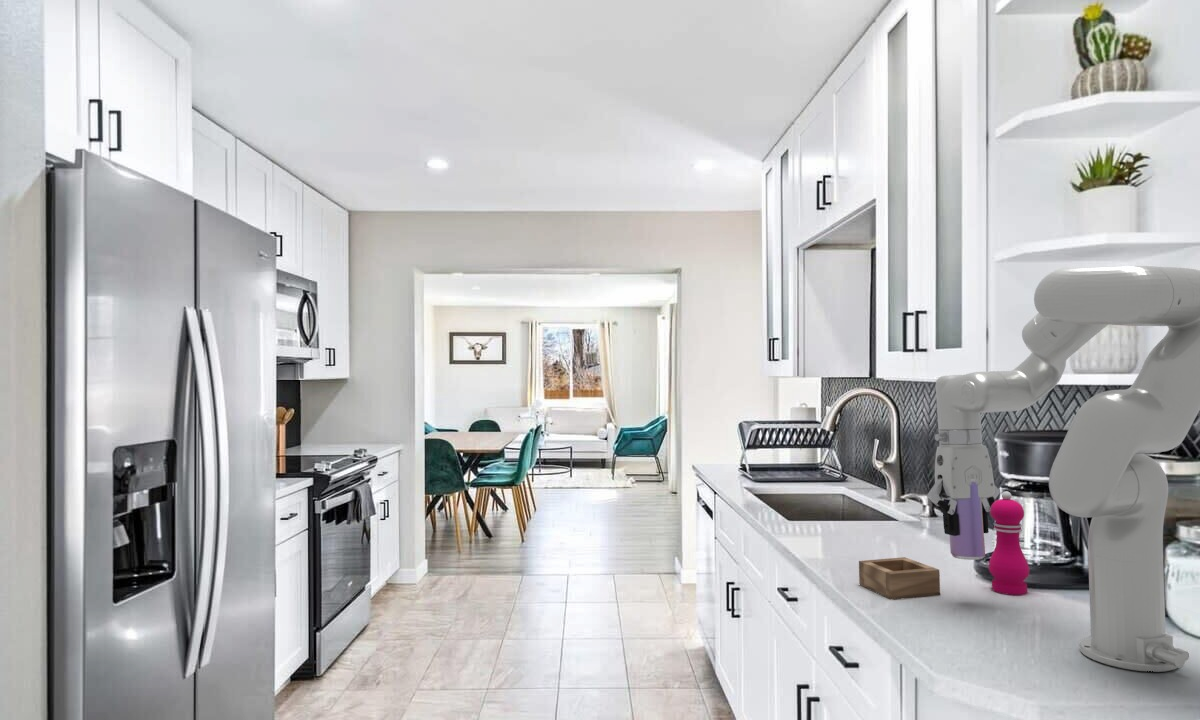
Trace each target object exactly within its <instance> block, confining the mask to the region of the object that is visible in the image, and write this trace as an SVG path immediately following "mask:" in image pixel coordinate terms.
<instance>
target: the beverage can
mask: <svg viewBox="0 0 1200 720" xmlns="http://www.w3.org/2000/svg"><path fill="white" fill-rule="evenodd" d="M972 480H974V479H972ZM972 480H971V481H972ZM970 484H971V485H969V486H970V498H968V499H965V500H957V504H956V508H955V512H954V514H957V517H958V532H959V534H958V536H953V535H949V546H950V547H949V548H950V549H949V550H950V551H949V552H950V555H952V557H953V558H955V559H960V560H964V561H965V560H966V561H967V560H969V561H971V560H972V561H973V560H982V559H984V558H985V555H986V545H985V533H984V529H983V514H982V499H981V498H980V497H979V496H978V484H976V482H971V483H970ZM948 497H950V496H948ZM948 502H950V501H948ZM948 506H949V503H948Z"/></svg>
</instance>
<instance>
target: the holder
mask: <svg viewBox="0 0 1200 720" xmlns="http://www.w3.org/2000/svg"><path fill="white" fill-rule="evenodd" d="M858 578H859V579H858V582H859V584H860V585H859V584H858V585H859V586H861V585H862V586H861V587H863V586H864V587H863V588H865V587H866V588H865V589H867V588H868V589H867V590H869V589H871V590H873V591H872V592H874V591H875V592H874V593H876V592H877V593H876V594H878V593H879V595H880V594H881V595H880V596H882V595H883V597H884V596H885V597H884V598H887V599H889V600H891V599H894V600H902V599H901V598H904V599H912V598H913V597H914V598H922V597H923V598H924V597H934V596H941V585H940V583H941V579H940V569H939V568H935V567H934V566H930V565H928V564H925V563H922V562H920V561H916V560H913V559H911V558H908V557H905V556H903V557H902V556H901V557H893V558H892V557H891V558H880V559H879V558H877V559H869V560H858ZM871 590H870V591H871Z"/></svg>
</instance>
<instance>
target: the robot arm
mask: <svg viewBox="0 0 1200 720" xmlns="http://www.w3.org/2000/svg"><path fill="white" fill-rule="evenodd" d="M1033 295H1034V296H1033V301H1034V302H1033V303H1034V307H1035V309H1036V311H1037V312H1038V313H1037V314H1035V316H1034V317H1032V319H1031V320H1028V322H1027V323H1026V324H1025V325H1024V326H1023V328H1022V330H1021V337H1022V340H1023V342H1024V345H1025V346H1026V347H1027V348H1028V350H1029V351H1030V354H1029V356H1027V357H1026V358H1025V359H1024V360H1023V361H1022V362H1021V363H1020V364H1019V365H1017V366H1016V367H1015V368H1014V369H1012V370H1010V371H1009V370H993V371H974V372H969V373H966V374H953V375H952V374H951V375H943V376H939V377H938V378H937V379H936V381H935V394H936V397H935V398H936V400H935V401H936V411H937V413H936V415H937V426H938V427H937V428H938V431H937V432H938V433H935V435H934V440H935V441H937V442H939V445H938V446H937V447H936V453H935V459H934V484H933V486H932V487H931V488H930V490H929V491H928V493H927V495H926V497H927V498H928V499H929V500H930V501H931V502H932V504H934V506H935V507H936V508H937V509H938V510H939V513H941V514H942V521H943V532H944V534H945V535H953V536H958V534H959V532H958V517H957V514H954V512H955V508H956V504H957V500H965V499H968V498H970V486H969V485H971V484H970V483H971V482H976V484H978V496H979V497H980V498H981V499H982V514H983V529H984V534H989V532H990V531H989V519H988V518H989V517H988V515H989V514H988V513H989V512H990V510H991V506H992V504H993V503H994V502H995V500H996V499H997V497H998V496H999V495H1000V493H1001V491H1000V489H999V487H998V486H996V484H995V480H994V473H993V466H992V461H991V457H990V454H989V450H988V448H987V445H983V435H982V421H981V420H982V419H981V414H983V413H986V414H987V413H998V412H999V413H1000V412H1002V413H1003V412H1019V411H1022V410H1025V409H1027V408H1029V407H1031V406H1033V405H1034V404H1035V403H1037V402H1038V401H1040V400H1041V398H1043V397H1044V396H1046V395H1047V394H1048V393H1049V392H1050V391H1052V390H1053V389H1054V388H1055V387H1056V386H1057V385H1058V384H1059V382H1060V381H1061V378H1062V377H1063V374H1064V371H1065V368H1066V364H1067V360H1068V359H1069V358H1071V356H1073V355H1074V354H1075V353H1076V352H1077V351H1079V350H1080V349H1081V348H1082V347H1083V346H1084V345H1086V344H1087V343H1088V342H1090V340H1092V339H1093V338H1094V337H1096V335H1098V334H1099V333H1100V332H1101V331H1102V330H1103V329H1105V328H1106V327H1107V326H1108V325H1109V326H1129V327H1130V326H1131V327H1133V326H1134V327H1142V326H1143V327H1167V328H1168V330H1167V333H1166V334H1165V335H1164V336H1163V337H1162V339H1160V340H1159V342H1158V343H1157V344H1156V345H1155V346H1154V347H1153V348H1152V349H1151V350H1150V352H1149V353H1148V354H1147V357H1146V358H1145V359H1144V362H1143V364H1142V366H1141V369H1140V370H1139V373H1138V375H1137V376H1136V378H1135V380H1134V381H1133V383H1132V385H1131V386H1130V387H1128V388H1126V389H1112V390H1106V391H1101V392H1098V393H1097V394H1095V395H1093V396H1091V397H1090V398H1089V399H1087V400H1086V401H1085V402H1084V403H1083V404H1082V405H1081V407H1080V408H1079V409H1078V410H1077V412H1076V413H1075V415H1074V416H1073V420H1072V421H1071V424H1070V426H1069V428H1068V430H1067V433H1066V434H1065V437H1064V439H1063V442H1062V443H1061V445H1060V447H1059V450H1058V452H1057V454H1056V456H1055V458H1054V461H1053V463H1052V466H1051V468H1050V471H1049V477H1048V488H1049V493H1050V496H1051V498H1052V501H1053V502H1054V504H1056V506H1057V507H1058V509H1060V510H1061V511H1063V512H1065V513H1066V514H1068V515H1071V516H1073V517H1078V518H1091V520H1090V525H1089V529H1088V535H1087V536H1088V537H1087V556H1088V557H1087V558H1088V561H1087V562H1088V588H1089V618H1090V619H1089V620H1090V622H1089V623H1090V636H1088V637H1084V638H1082V639H1081V640H1080V641H1079V651H1080V652H1081V653H1082V654H1083V655H1084V656H1086V657H1088V658H1089V659H1092V660H1094V661H1096V662H1098V663H1101V664H1104V665H1108V666H1110V667H1111V666H1112V667H1115V668H1119V669H1123V670H1124V669H1125V670H1131V671H1137V672H1138V671H1139V672H1147V671H1148V672H1149V671H1151V672H1152V671H1153V672H1152V673H1160V672H1163V673H1164V672H1170V671H1171V672H1172V671H1174V670H1176V669H1178V668H1182V667H1184V666H1185V663H1186V661H1188V660H1189V659H1190V653H1189V652H1188V651H1186V650H1183V649H1180V648H1176V647H1174V644H1173V643H1174V640H1173V639H1174V637H1173V635H1170V634H1167V632H1166V609H1165V608H1166V607H1165V606H1166V605H1165V582H1164V581H1165V580H1164V578H1165V577H1164V576H1165V575H1164V540H1163V539H1164V524H1165V523H1164V521H1165V514H1166V509H1167V503H1168V497H1169V483H1168V477H1167V475H1166V473H1165V471H1164V469H1163V467H1161V464H1159V463H1158V461H1156V460H1154V458H1152V457H1151V456H1149V455H1147V454H1157V453H1162V452H1169V451H1170V450H1171V451H1172V450H1173V449H1176V448H1177V447H1178V446H1180V445H1181V444H1182V442H1183V441H1184V440H1185V438H1186V436H1187V435H1188V433H1189V431H1190V429H1191V427H1192V425H1193V423H1194V422H1195V420H1196V418H1197V416H1198V414H1199V412H1200V269H1194V268H1189V267H1178V266H1177V267H1172V266H1171V267H1170V266H1148V265H1124V266H1122V265H1121V266H1119V265H1118V266H1105V267H1104V266H1101V267H1100V266H1099V267H1077V268H1076V267H1064V268H1063V267H1061V268H1059V269H1056V270H1054V271H1052V272H1049V273H1048V274H1046V275H1045V276H1044V277H1043V278H1042V279H1041V281H1040V282H1039V283H1038V285H1037V286H1036V288H1035V291H1034V294H1033ZM972 479H974V480H972ZM971 480H972V481H971ZM948 496H950V497H948ZM948 501H950V502H948ZM948 503H949V506H948ZM1151 672H1149V673H1151Z"/></svg>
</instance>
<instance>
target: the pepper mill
mask: <svg viewBox="0 0 1200 720" xmlns="http://www.w3.org/2000/svg"><path fill="white" fill-rule="evenodd" d="M1012 497H1013V496H1012V493H1011V492H1009V491H1003V492H1002V493H1001V499H997V500H994V503H993V504H992V505H991V507H990V508H991V509H990V511H989V512H990V516H991V517H992V518H993V520H994V521H995V522H993V530H994V531H995V532H996V543H995V547H994V550H993V552H992V554H991V556H990V557H989V562H988V571H989V573H990V575H992V577H993V579H992V580H991V589H992V590H993V592H996V593H999V594H1003V595H1007V596H1008V595H1009V596H1023V595H1026V594H1027V593H1028V583H1026V582H1025V580H1026V579H1027V578H1028V576H1029V575H1030V566H1029V564H1028V561H1027V559H1026V557H1025V555H1024V552H1023V550H1022V548H1021V545H1020V543H1021V542H1020V533H1021V532H1022V531H1023V529H1022V524H1021V523H1020V522H1021V521H1022V520H1023V519H1024V517H1025V510H1024V507H1023V506H1022V505H1021V503H1020V502H1018V501H1017V500H1014V499H1012Z"/></svg>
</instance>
